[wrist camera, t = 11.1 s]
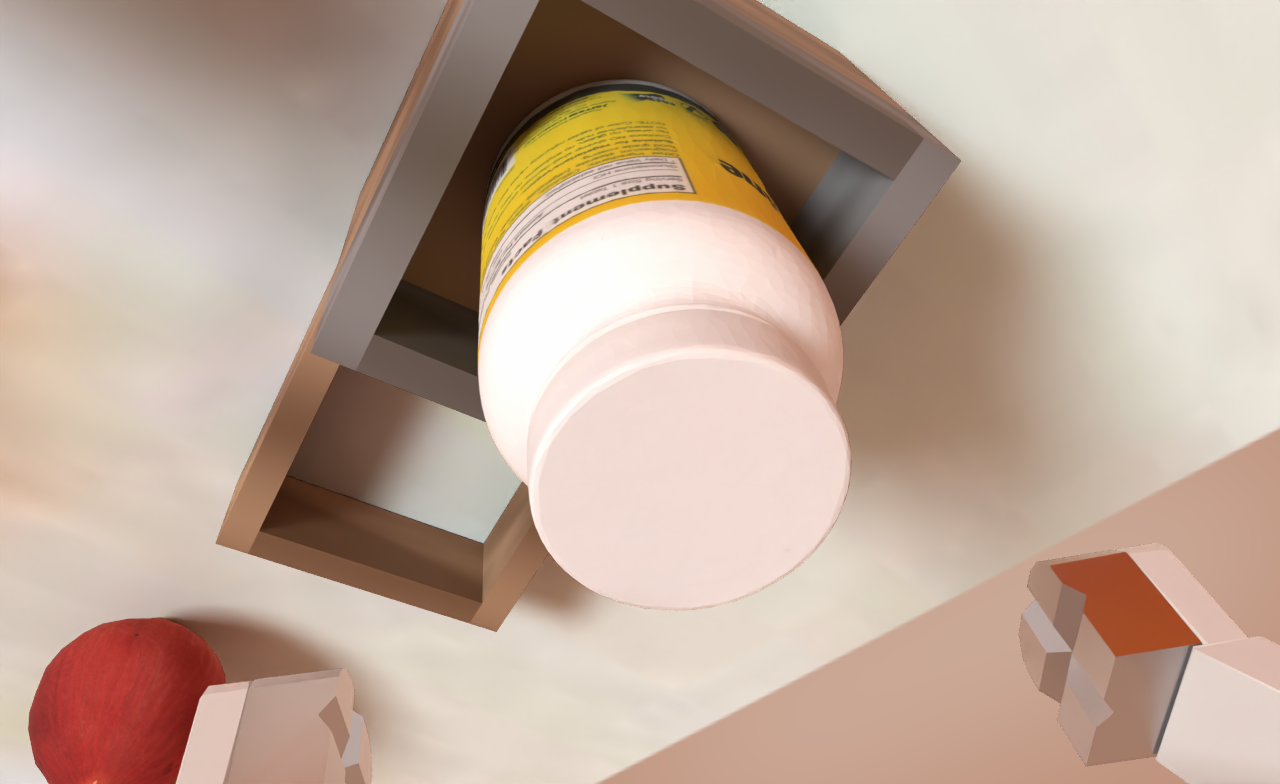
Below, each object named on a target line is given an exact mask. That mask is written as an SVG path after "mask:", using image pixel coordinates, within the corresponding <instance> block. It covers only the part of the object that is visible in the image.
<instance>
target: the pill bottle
mask: <svg viewBox="0 0 1280 784" xmlns="http://www.w3.org/2000/svg"><path fill="white" fill-rule="evenodd" d="M842 373H843V344H842V336H841V329H840V325H839V320H838V317H837V313H836V310H835V307H834V304H833V302H832V300H831V297H830V295H829V293H828V290H827V288H826V286H825V284H824V282H823V280H822V278H821V276H820V275H819V273H818V271H817V270H816V268H815V266H814V265H813V263H812V262H811V260H810V259H809V257H808V256H807V254H806V252H805V251H804V249H803V248H802V246H801V245H800V243H799V242H798V240H797V239H796V237H795V236H794V234H793V232H792V231H791V229H790V227H789V225H788V224H787V222H786V221H785V219H784V218H783V216H782V214H781V213H780V211H779V209H778V207H777V206H776V204H775V203H774V201H773V200H772V197H771V196H770V194H769V192H768V191H767V190H766V188H765V186H764V185H763V183H762V181H761V180H760V178H759V177H758V175H757V173H756V172H755V171H754V169H753V168H752V166H751V164H750V162H749V160H748V159H747V157H746V156H745V154H744V153H743V151H742V149H741V148H740V146H739V145H738V144H737V142H736V140H735V139H734V138H733V136H732V135H731V134H730V132H729V131H728V130H727V129H726V127H725V126H724V125H723V124H722V122H721V121H720V120H719V119H718V118H717V117H716V116H715V115H714V114H712V113H711V112H710V111H709V110H708V109H707V108H705V107H704V106H703V105H702V104H700V103H699V102H697V101H696V100H694V99H692V98H691V97H689V96H687V95H686V94H683V93H681V92H679V91H677V90H675V89H672V88H670V87H667V86H664V85H661V84H658V83H654V82H648V81H642V80H630V79H622V80H604V81H597V82H592V83H588V84H584V85H580V86H577V87H574V88H571V89H569V90H566V91H564V92H562V93H560V94H558V95H556V96H554V97H552V98H550V99H549V100H547V101H546V102H544V103H543V104H541V105H540V106H539V107H537V108H536V109H534V110H533V111H532V112H531V113H530V114H529V115H528V116H526V117H525V118H524V119H523V120H522V121H521V122H520V123H519V124H518V125H517V127H516V128H515V129H514V130H513V132H512V133H511V134H510V135H509V137H508V138H507V140H506V141H505V143H504V144H503V146H502V147H501V149H500V151H499V153H498V155H497V158H496V160H495V162H494V165H493V167H492V170H491V173H490V177H489V180H488V185H487V190H486V196H485V203H484V211H483V227H482V252H481V278H480V304H479V337H478V379H479V390H480V397H481V404H482V409H483V412H484V416H485V420H486V423H487V426H488V429H489V431H490V434H491V436H492V438H493V440H494V442H495V444H496V446H497V448H498V450H499V451H500V453H501V454H502V456H503V458H504V459H505V461H506V462H507V464H508V465H509V466H510V468H511V469H512V470H513V471H514V473H515V474H516V475H517V476H518V477H519V478H520V479H521V480H522V481H523V482H524V483H525V484H526V485H527V486H528V490H529V501H530V507H531V513H532V517H533V520H534V524H535V527H536V529H537V531H538V534H539V536H540V538H541V540H542V542H543V544H544V545H545V547H546V549H547V550H548V552H549V553H550V554H551V556H552V557H553V558H554V559H555V561H556V562H557V563H558V564H559V565H560V566H561V567H562V568H563V569H564V570H565V571H566V572H567V573H568V574H569V575H570V576H572V577H573V578H574V579H575V580H577V581H578V582H579V583H581V584H582V585H584V586H585V587H587V588H589V589H590V590H592V591H594V592H596V593H598V594H600V595H603V596H605V597H607V598H610V599H612V600H614V601H617V602H619V603H623V604H628V605H632V606H636V607H641V608H645V609H657V610H676V611H677V610H695V609H702V608H710V607H714V606H717V605H721V604H725V603H729V602H733V601H736V600H739V599H742V598H744V597H747V596H749V595H752V594H754V593H757V592H758V591H760V590H762V589H764V588H766V587H768V586H770V585H772V584H773V583H775V582H777V581H779V580H780V579H782V578H783V577H785V576H786V575H788V574H789V573H791V572H792V571H793V570H794V569H796V568H797V567H798V566H800V565H801V564H802V563H803V562H804V561H805V560H806V559H807V558H808V557H809V556H810V555H811V554H812V553H813V552H814V551H815V550H816V549H817V548H818V546H819V545H820V544H821V543H822V542H823V540H824V539H825V537H826V536H827V535H828V533H829V532H830V530H831V529H832V527H833V526H834V524H835V522H836V520H837V518H838V516H839V514H840V512H841V509H842V506H843V504H844V501H845V499H846V496H847V491H848V488H849V483H850V476H851V450H850V443H849V438H848V433H847V430H846V427H845V425H844V422H843V419H842V417H841V415H840V413H839V411H838V409H837V406H836V403H837V399H838V394H839V390H840V385H841V380H842Z"/></svg>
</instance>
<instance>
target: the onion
mask: <svg viewBox="0 0 1280 784" xmlns="http://www.w3.org/2000/svg"><path fill="white" fill-rule="evenodd" d="M221 684H226V679H225V674H224V671H223V669H222V666H221V663H220V661H219V659H218V657H217V656H216V655H215V653H214V652H213V650H212V649H211V648H210V646H209V645H208V644H207V642H205V641H204V640H203V639H201V638H200V637H199V636H197V635H196V634H194V633H193V632H192V631H190V630H189V629H187V628H186V627H184V626H183V625H180V624H177V623H174V622H172V621H170V620H168V619H164V618H151V619H125V620H119V621H114V622H109V623H104V624H101V625H99V626H97V627H95V628H93V629H91V630H89V631H87V632H84V633H83V634H82V635H80V636H79V637H78V638H76V639H75V640H74V641H72V642H71V643H70V644H68V645H67V646H66V647H64V648H63V649H62V650H61V651H60V652H59V653H58V654H57V655H56V657H55V658H54V659H53V660H52V661H51V663H50V664H49V665H48V666H47V668H46V669H45V672H44V674H43V677H42V679H41V681H40V684H39V686H38V689H37V691H36V694H35V697H34V700H33V703H32V706H31V709H30V712H29V726H28V731H29V736H30V741H31V746H32V751H33V755H34V760H35V764H36V765H37V767H38V768H39V770H40V771H41V772H42V774H43V775H44V777H45V778H46V780H47V782H48V783H49V784H176V781H177V778H178V774H179V770H180V767H181V763H182V760H183V756H184V753H185V749H186V746H187V742H188V739H189V735H190V732H191V728H192V724H193V721H194V717H195V714H196V710H197V707H198V703H199V700H200V698H201V696H202V695H203V693H204V692H205V691H206V689H207V688H208V686H213V685H221Z"/></svg>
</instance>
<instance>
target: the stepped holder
mask: <svg viewBox="0 0 1280 784" xmlns="http://www.w3.org/2000/svg"><path fill="white" fill-rule="evenodd" d="M622 79H630V80H642V81H648V82H654V83H658V84H661V85H664V86H667V87H670V88H672V89H675V90H677V91H679V92H681V93H683V94H686V95H687V96H689V97H691V98H692V99H694V100H696V101H697V102H699V103H700V104H702V105H703V106H704V107H705V108H707V109H708V110H709V111H710V112H711V113H712V114H714V115H715V116H716V117H717V118H718V119H719V120H720V121H721V122H722V124H723V125H724V126H725V127H726V129H727V130H728V131H729V132H730V134H731V135H732V136H733V138H734V139H735V140H736V142H737V144H738V145H739V146H740V148H741V149H742V151H743V153H744V154H745V156H746V157H747V159H748V160H749V162H750V164H751V166H752V168H753V169H754V171H755V172H756V173H757V175H758V177H759V178H760V180H761V181H762V183H763V185H764V186H765V188H766V190H767V191H768V192H769V194H770V196H771V197H772V200H773V201H774V203H775V204H776V206H777V207H778V209H779V211H780V213H781V214H782V216H783V218H784V219H785V221H786V222H787V224H788V225H789V227H790V229H791V231H792V232H793V234H794V236H795V237H796V239H797V240H798V242H799V243H800V245H801V246H802V248H803V249H804V251H805V252H806V254H807V256H808V257H809V259H810V260H811V262H812V263H813V265H814V266H815V268H816V270H817V271H818V273H819V275H820V276H821V278H822V280H823V282H824V284H825V286H826V288H827V290H828V293H829V295H830V297H831V300H832V302H833V304H834V307H835V310H836V313H837V317H838V320H839V325H841V324H842V323H843V321H844V320H845V319H846V317H847V316H848V314H849V313H850V312H851V310H852V309H853V308H854V306H855V305H856V304H857V302H858V301H859V299H860V298H861V297H862V295H863V294H864V293H865V291H866V290H867V289H868V287H869V286H870V284H871V283H872V282H873V280H874V279H875V278H876V276H877V275H878V274H879V272H880V271H881V269H882V268H883V267H884V265H885V264H886V263H887V261H888V260H889V259H890V257H891V256H892V254H893V253H894V252H895V250H896V249H897V248H898V246H899V245H900V244H901V242H902V241H903V239H904V238H905V237H906V235H907V234H908V233H909V231H910V230H911V229H912V227H913V226H914V224H915V223H916V222H917V220H918V219H919V218H920V216H921V215H922V214H923V212H924V211H925V209H926V208H927V207H928V205H929V204H930V203H931V201H932V200H933V199H934V197H935V196H936V194H937V193H938V192H939V190H940V189H941V188H942V186H943V185H944V184H945V182H946V181H947V179H948V178H949V177H950V175H951V174H952V173H953V171H954V170H955V169H956V167H957V166H958V164H959V163H960V162H961V160H960V159H959V158H958V157H957V156H955V155H954V154H953V153H952V152H951V151H950V150H949V149H948V148H947V147H945V146H944V145H943V144H942V143H941V142H940V141H939V140H938V139H936V138H935V137H934V136H933V135H932V134H931V133H930V132H929V131H927V130H926V129H925V128H924V127H923V126H922V125H921V124H920V123H918V122H917V121H916V120H915V119H914V118H913V117H912V116H911V115H909V114H908V113H907V112H906V111H905V110H904V109H903V108H902V107H901V106H899V105H898V104H897V103H896V102H895V101H894V100H893V99H892V98H890V97H889V96H888V95H887V94H886V93H885V92H884V91H883V90H881V89H880V88H879V87H878V86H877V85H876V84H875V83H874V82H872V81H871V80H870V79H869V78H868V77H867V76H866V75H865V74H863V73H862V72H861V71H860V70H859V69H858V68H857V67H856V66H855V65H853V64H852V63H851V62H850V61H849V60H848V59H847V58H846V57H844V56H843V55H842V54H841V53H840V52H839V51H837V50H836V49H834V48H832V47H831V46H829V45H828V44H826V43H824V42H823V41H821V40H820V39H818V38H816V37H815V36H813V35H811V34H810V33H808V32H807V31H805V30H803V29H802V28H800V27H798V26H797V25H795V24H794V23H792V22H790V21H789V20H787V19H785V18H784V17H782V16H781V15H779V14H777V13H776V12H774V11H773V10H771V9H769V8H768V7H766V6H764V5H763V4H761V3H760V2H758V1H756V0H448V2H447V4H446V7H445V9H444V11H443V13H442V15H441V18H440V20H439V22H438V24H437V26H436V29H435V31H434V33H433V35H432V37H431V40H430V42H429V44H428V46H427V48H426V50H425V53H424V55H423V57H422V59H421V61H420V64H419V66H418V68H417V70H416V72H415V75H414V77H413V79H412V81H411V83H410V86H409V88H408V90H407V92H406V94H405V97H404V99H403V101H402V103H401V105H400V108H399V110H398V112H397V114H396V116H395V119H394V121H393V123H392V125H391V127H390V130H389V132H388V134H387V136H386V138H385V141H384V143H383V145H382V147H381V149H380V152H379V154H378V156H377V158H376V160H375V162H374V165H373V167H372V169H371V171H370V173H369V176H368V178H367V180H366V182H365V184H364V187H363V189H362V191H361V193H360V195H359V198H358V202H357V205H356V208H355V211H354V214H353V218H352V221H351V224H350V227H349V230H348V234H347V237H346V240H345V243H344V246H343V250H342V253H341V256H340V259H339V263H338V265H337V267H336V270H335V272H334V274H333V276H332V278H331V280H330V283H329V285H328V287H327V289H326V291H325V293H324V296H323V298H322V300H321V302H320V304H319V306H318V309H317V311H316V313H315V315H314V317H313V320H312V322H311V324H310V326H309V328H308V330H307V333H306V335H305V337H304V339H303V341H302V343H301V346H300V348H299V350H298V352H297V354H296V356H295V359H294V361H293V363H292V365H291V367H290V370H289V372H288V374H287V376H286V378H285V380H284V383H283V385H282V387H281V389H280V391H279V393H278V396H277V398H276V400H275V402H274V404H273V406H272V409H271V411H270V413H269V415H268V417H267V419H266V422H265V424H264V426H263V428H262V430H261V433H260V435H259V437H258V439H257V441H256V443H255V446H254V448H253V450H252V452H251V454H250V456H249V459H248V461H247V463H246V465H245V467H244V469H243V472H242V474H241V476H240V478H239V480H238V483H237V485H236V488H235V490H234V493H233V496H232V499H231V502H230V504H229V507H228V510H227V513H226V516H225V518H224V521H223V524H222V527H221V530H220V532H219V535H218V538H217V541H216V544H219V545H222V546H225V547H228V548H231V549H235V550H238V551H241V552H244V553H247V554H251V555H254V556H257V557H260V558H263V559H266V560H270V561H273V562H276V563H279V564H282V565H286V566H289V567H292V568H295V569H298V570H301V571H305V572H308V573H311V574H314V575H317V576H320V577H324V578H327V579H330V580H333V581H336V582H340V583H343V584H346V585H349V586H352V587H355V588H359V589H362V590H365V591H368V592H371V593H374V594H378V595H381V596H384V597H387V598H390V599H394V600H397V601H400V602H403V603H406V604H409V605H413V606H416V607H419V608H422V609H425V610H429V611H432V612H435V613H438V614H441V615H444V616H448V617H451V618H454V619H457V620H460V621H463V622H467V623H470V624H473V625H476V626H479V627H483V628H486V629H489V630H492V631H495V632H497V630H498V629H499V627H500V626H501V624H502V623H503V621H504V620H505V618H506V617H507V615H508V614H509V612H510V611H511V609H512V608H513V606H514V605H515V603H516V602H517V600H518V599H519V597H520V596H521V594H522V592H523V591H524V589H525V588H526V586H527V585H528V583H529V582H530V580H531V579H532V577H533V576H534V574H535V573H536V571H537V570H538V568H539V567H540V565H541V564H542V562H543V561H544V559H545V558H546V556H547V555H548V553H549V552H548V550H547V549H546V547H545V545H544V544H543V542H542V540H541V538H540V536H539V534H538V531H537V529H536V527H535V524H534V520H533V517H532V513H531V507H530V501H529V490H528V486H527V485H526V484H525V483H524V482H523V481H522V483H521V484H520V486H519V488H518V489H517V491H516V493H515V494H514V496H513V497H512V499H511V501H510V502H509V504H508V505H507V507H506V509H505V510H504V512H503V513H502V515H501V517H500V518H499V520H498V522H497V523H496V525H495V526H494V528H493V530H492V531H491V533H490V534H489V536H488V538H487V539H486V541H485V543H484V544H482V543H479V542H476V541H473V540H470V539H467V538H464V537H461V536H459V535H456V534H453V533H450V532H447V531H444V530H441V529H438V528H435V527H433V526H430V525H427V524H424V523H421V522H418V521H415V520H412V519H409V518H407V517H404V516H401V515H398V514H395V513H392V512H389V511H386V510H383V509H381V508H378V507H375V506H372V505H369V504H366V503H363V502H360V501H357V500H355V499H352V498H349V497H346V496H343V495H340V494H337V493H334V492H332V491H329V490H326V489H323V488H320V487H317V486H314V485H311V484H308V483H306V482H303V481H300V480H297V479H294V478H291V477H288V476H286V474H287V472H288V470H289V468H290V466H291V464H292V462H293V460H294V458H295V456H296V454H297V452H298V450H299V447H300V445H301V443H302V441H303V439H304V437H305V435H306V433H307V431H308V429H309V427H310V425H311V423H312V421H313V419H314V417H315V415H316V412H317V410H318V408H319V406H320V404H321V402H322V400H323V398H324V396H325V394H326V392H327V390H328V388H329V386H330V384H331V382H332V380H333V377H334V375H335V373H336V371H337V369H338V367H339V365H342V366H344V367H347V368H349V369H352V370H355V371H357V372H360V373H362V374H365V375H367V376H370V377H372V378H375V379H377V380H380V381H383V382H385V383H388V384H390V385H393V386H395V387H398V388H400V389H403V390H405V391H408V392H411V393H413V394H416V395H418V396H421V397H423V398H426V399H428V400H431V401H433V402H436V403H439V404H441V405H444V406H446V407H449V408H451V409H454V410H456V411H459V412H461V413H464V414H466V415H469V416H472V417H474V418H477V419H479V420H482V421H484V422H486V420H485V416H484V412H483V409H482V404H481V397H480V390H479V379H478V337H479V304H480V278H481V252H482V227H483V211H484V203H485V196H486V190H487V185H488V180H489V177H490V173H491V170H492V167H493V165H494V162H495V160H496V158H497V155H498V153H499V151H500V149H501V147H502V146H503V144H504V143H505V141H506V140H507V138H508V137H509V135H510V134H511V133H512V132H513V130H514V129H515V128H516V127H517V125H518V124H519V123H520V122H521V121H522V120H523V119H524V118H525V117H526V116H528V115H529V114H530V113H531V112H532V111H533V110H534V109H536V108H537V107H539V106H540V105H541V104H543V103H544V102H546V101H547V100H549V99H550V98H552V97H554V96H556V95H558V94H560V93H562V92H564V91H566V90H569V89H571V88H574V87H577V86H580V85H584V84H588V83H592V82H597V81H604V80H622Z"/></svg>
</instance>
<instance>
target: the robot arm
mask: <svg viewBox="0 0 1280 784" xmlns="http://www.w3.org/2000/svg"><path fill="white" fill-rule="evenodd" d="M1027 587H1028V589H1029V590H1030V591H1031V593H1032V594H1033V596H1034V598H1035V600H1034V601H1033V602H1032V603H1031V604H1030V605H1029V606H1028V608H1027V609H1026V610H1025V611H1024V612H1023V613H1022V616H1021V623H1020V629H1019V638H1020V646H1021V652H1022V657H1023V660H1024V662H1025V665H1026V668H1027V670H1028V673H1029V674H1030V676H1031V678H1032V680H1033V681H1034V683H1035V684H1036V686H1037V688H1038V690H1039V691H1041V692H1043V693H1044V694H1046V695H1047V696H1049V697H1051V698H1053V699H1054V700H1056V701H1058V702H1059V703H1060V708H1059V714H1058V719H1057V721H1058V722H1059V724H1060V725H1061V727H1062V729H1063V730H1064V732H1065V734H1066V735H1067V737H1068V738H1069V740H1070V741H1071V743H1072V745H1073V747H1074V748H1075V750H1076V751H1077V753H1078V754H1079V756H1080V758H1081V759H1082V761H1083V763H1084V764H1085V766H1092V765H1099V764H1106V763H1113V762H1120V761H1127V760H1134V759H1141V758H1148V757H1156V756H1157V757H1156V761H1158V762H1159V763H1161V764H1162V765H1163V766H1165V767H1166V768H1167V769H1169V770H1170V771H1172V772H1173V773H1174V774H1176V775H1177V776H1178V777H1180V778H1181V779H1183V780H1184V781H1186V782H1187V783H1188V784H1280V645H1279V644H1276V643H1274V642H1272V641H1270V640H1268V639H1266V638H1264V637H1262V636H1257V637H1249V638H1248V636H1247V635H1246V634H1245V633H1244V632H1243V631H1242V630H1241V629H1240V628H1239V626H1238V625H1237V624H1236V623H1235V622H1234V621H1233V620H1232V619H1231V618H1230V616H1229V615H1228V614H1227V613H1226V612H1225V611H1224V610H1223V609H1222V608H1221V606H1219V604H1218V603H1217V602H1216V601H1215V600H1214V599H1213V598H1212V596H1211V595H1210V594H1209V593H1208V592H1207V591H1206V590H1205V589H1204V587H1203V586H1202V585H1201V584H1200V583H1199V582H1198V581H1197V580H1196V579H1195V577H1194V576H1193V575H1192V574H1191V573H1190V572H1189V571H1188V570H1187V569H1186V567H1185V566H1184V565H1183V564H1182V563H1181V562H1180V561H1179V560H1178V559H1177V557H1176V556H1175V555H1174V554H1173V553H1172V552H1171V551H1170V550H1169V549H1168V548H1167V547H1165V546H1163V545H1161V544H1159V543H1150V544H1144V545H1139V546H1132V547H1126V548H1120V549H1116V550H1107V551H1101V552H1095V553H1088V554H1082V555H1076V556H1070V557H1064V558H1058V559H1052V560H1046V561H1039V562H1037V563H1036V564H1035V565H1034V567H1033V568H1032V569H1031V571H1030V575H1029V580H1028V584H1027ZM354 692H355V689H354V686H353V684H352V681H351V678H350V675H349V672H348V670H346V669H343V668H340V669H332V670H324V671H316V672H308V673H300V674H292V675H285V676H277V677H269V678H261V679H255V680H252V681H244V682H236V683H229V684H221V685H213V686H208V688H207V689H206V691H205V692H204V693H203V695H202V696H201V698H200V700H199V703H198V707H197V710H196V714H195V717H194V721H193V724H192V728H191V732H190V735H189V739H188V742H187V746H186V749H185V753H184V756H183V760H182V763H181V767H180V770H179V774H178V778H177V781H176V784H371V782H372V768H371V749H370V743H369V737H368V732H367V728H366V725H365V721H364V718H363V716H361V715H360V714H358V713H357V712H355V711H353V702H354Z"/></svg>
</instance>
